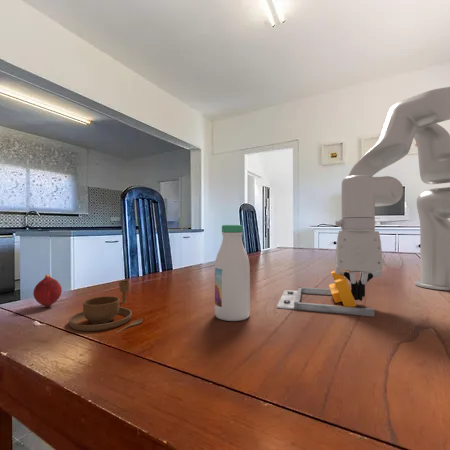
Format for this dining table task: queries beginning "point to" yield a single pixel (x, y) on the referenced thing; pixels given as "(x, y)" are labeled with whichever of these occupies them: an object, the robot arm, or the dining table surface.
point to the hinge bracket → (292, 301)
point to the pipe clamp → (341, 290)
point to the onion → (47, 291)
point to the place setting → (104, 312)
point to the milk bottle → (232, 276)
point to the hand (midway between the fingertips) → (357, 299)
